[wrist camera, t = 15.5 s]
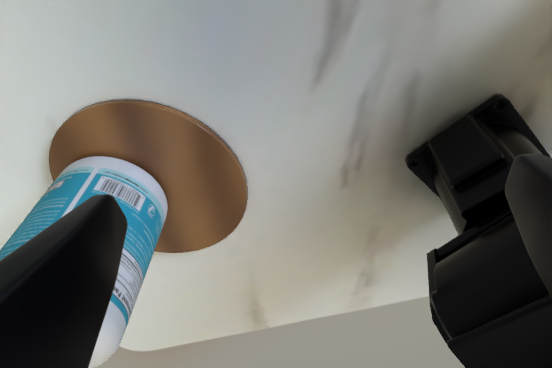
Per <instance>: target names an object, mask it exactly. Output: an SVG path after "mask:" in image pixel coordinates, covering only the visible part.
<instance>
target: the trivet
mask: <svg viewBox="0 0 552 368" xmlns="http://www.w3.org/2000/svg"><path fill="white" fill-rule="evenodd" d="M94 156H105V157H113V158H117V159H121V160H124V161H127V162H130V163H132V164H134V165H136V166H138V167H140V168H141V169H143V170H144V171H146V172H147V173H148V174H150V175H151V176H152V177H153V178H154V179H155V180H156V181H157V182H158V184H159V185H160V186H161V188H162V190H163V191H164V194H165V196H166V199H167V205H168V210H167V216H166V220H165V222H164V225H163V228H162V231H161V233H160V236H159V239H158V242H157V245H156V247H155V250H154V251H156V252H166V253H181V252H190V251H195V250H200V249H203V248H206V247H209V246H211V245H214V244H216V243H218V242H220V241H221V240H223V239H224V238H226V237H227V236H228V235H229V234H230V233H232V232H233V230H234V229H235V228H236V227H237V226H238V224H239V223H240V221H241V219H242V217H243V215H244V212H245V209H246V203H247V183H246V178H245V175H244V172H243V169H242V167H241V165H240V163H239V161H238V159H237V157H236V156H235V154H234V153H233V152H232V150H231V149H230V147H229V146H228V145H227V144H226V143H225V142H224V141H223V140H222V139H221V138H220V137H219V136H218V135H217V134H216V133H215V132H213V131H212V130H211V129H210V128H208V127H207V126H205V125H204V124H203V123H201V122H200V121H198V120H196V119H195V118H193V117H191V116H189V115H187V114H185V113H183V112H181V111H178V110H176V109H173V108H171V107H167V106H164V105H161V104H157V103H152V102H147V101H141V100H111V101H106V102H101V103H97V104H94V105H91V106H88V107H86V108H84V109H82V110H80V111H78V112H76V113H75V114H74V115H72V116H71V117H70V118H69V119H68V120H66V121H65V122H64V124H63V125H62V126H61V127H60V128H59V130H58V131H57V132H56V134H55V136H54V138H53V140H52V144H51V147H50V153H49V165H50V172H51V175H52V179H53V181H55V180H56V179H57V177H58V176H59V175H60V174H61V172H62V171H63V170H64V169H65V168H66V167H68V166H69V165H70V164H72V163H73V162H75V161H77V160H80V159H83V158H87V157H94Z"/></svg>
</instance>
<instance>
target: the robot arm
mask: <svg viewBox="0 0 552 368" xmlns="http://www.w3.org/2000/svg"><path fill="white" fill-rule="evenodd" d="M500 102H502V103H501V104H500V105H499V106H497V107H495V106H496V105H497V104H498V103H500ZM413 160H417V161H416V162H412V161H413ZM405 162H406V164H407V166H408V168H409V169H410V170H411V171H412V172H413V173H414V174H415V175H417V176H418V177H419V178H420V179H421V180H422V181H423V182H424V183H425V184H426V185H427V186H428V187H429V188H430V189H431V190H432V191H433V192H434V193H435V194H436V195H437V196H438V197H440V198H441V199H442V201H443V203H444V205H445V207H446V210H447V212H448V214H449V216H450V218H451V220H452V222H453V224H454V226H455V228H456V231H457V233H458V235H459V236H457V237H456V238H454V239H453V240H451V241H449V242H448V243H446V244H445V245H443V246H442V247H440V248H438V249H434V250H432V251H430V252H429V253H427V262H428V279H429V296H430V308H431V313H432V319H433V322H434V324H435V325H436V326H437V328H438V330H439V332H440V334H441V335H442V337H443V339H444V340H445V342H446V343H447V345H448V347H449V348H450V349H451V351H452V352H453V353H454V355H455V356H456V357H457V358H458V359H459V360H460V362H461V363H462V364H463V365H464V366H465V368H552V158H551V157H550V156H549V154H548V153H547V152H546V150H545V149H544V147H543V146H542V145H541V143H540V142H539V141H538V139H537V138H536V136H535V135H534V134H533V132H532V131H531V130H530V128H529V127H528V126H527V124H526V123H525V121H524V120H523V119H522V117H521V116H520V115H519V113H518V112H517V111H516V109H515V108H514V106H513V105H512V104H511V102H510V101H509V100H508V99H507V98H506V97H505V96H504V95H496V96H494V97H492V98H491V99H489V100H488V101H487V102H485V103H484V104H482V105H481V106H479V107H478V108H476V109H475V110H473V111H472V112H471V113H469V114H468V115H466V116H464V117H463V118H462V119H460V120H459V121H457V122H456V123H454V124H453V125H451V126H450V127H448V128H447V129H445V130H444V131H443V132H441V133H440V134H438V135H437V136H435V137H434V138H432V139H431V140H430V141H428V142H427V143H425V144H424V145H422V146H421V147H419V148H418V149H417V150H415V151H414V152H412V153H411V154H409V155H408V156H407V157H406V159H405ZM127 227H128V223H127V218H126V216H125V214H124V213H123V211H122V209H121V208H120V206H119V204H118V202H117V201H116V199H115V198H114V196H112V195H111V194H101V195H94V196H92V197H90V198H89V199H87V200H86V201H84V202H83V203H82V204H80V205H79V206H77V207H76V208H74V209H73V210H72V211H70V212H69V213H67V214H66V215H64V216H63V217H62V218H60V219H59V220H57V221H56V222H54V223H53V224H52V225H50V226H49V227H47V228H46V229H44V230H43V231H42V232H40V233H39V234H37V235H36V236H34V237H33V238H32V239H30V240H29V241H27V242H26V243H24V244H23V245H22V246H20V247H19V248H17V249H16V250H14V251H13V252H11V253H10V254H9V255H7V256H6V257H4V258H3V259H1V260H0V368H88V367H89V364H90V361H91V358H92V354H93V351H94V348H95V345H96V342H97V339H98V336H99V333H100V330H101V327H102V324H103V321H104V318H105V315H106V312H107V309H108V305H109V302H110V299H111V296H112V293H113V290H114V287H115V283H116V279H117V275H118V270H119V266H120V261H121V256H122V251H123V247H124V242H125V237H126V232H127Z"/></svg>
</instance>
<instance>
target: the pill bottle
mask: <svg viewBox="0 0 552 368" xmlns="http://www.w3.org/2000/svg"><path fill="white" fill-rule="evenodd" d="M101 194H111V195H112V196H114V198H115V199H116V201H117V202H118V204H119V206H120V208H121V209H122V211H123V213H124V214H125V216H126V218H127V223H128V227H127V232H126V237H125V242H124V247H123V251H122V256H121V261H120V266H119V270H118V275H117V279H116V283H115V287H114V290H113V293H112V296H111V299H110V302H109V305H108V309H107V312H106V315H105V318H104V321H103V324H102V327H101V330H100V333H99V336H98V339H97V342H96V345H95V348H94V351H93V354H92V358H91V361H90V364H89V367H88V368H95V367H97V366H99V365H101V364H102V363H104V362H105V361H106V360H107V359H109V358H110V357H111V356H112V355H113V353H114V352H115V351H116V350H117V348H118V346H119V344H120V342H121V340H122V337H123V334H124V332H125V329H126V326H127V324H128V321H129V318H130V316H131V313H132V310H133V307H134V305H135V302H136V299H137V296H138V294H139V291H140V288H141V286H142V283H143V280H144V277H145V275H146V272H147V269H148V266H149V264H150V261H151V258H152V255H153V253H154V250H155V247H156V245H157V242H158V239H159V236H160V233H161V231H162V228H163V225H164V222H165V220H166V216H167V210H168V205H167V199H166V196H165V194H164V191H163V190H162V188H161V186H160V185H159V184H158V182H157V181H156V180H155V179H154V178H153V177H152V176H151V175H150V174H148V173H147V172H146V171H144V170H143V169H141V168H140V167H138V166H136V165H134V164H132V163H130V162H127V161H124V160H121V159H117V158H113V157H105V156H94V157H87V158H83V159H80V160H77V161H75V162H73V163H72V164H70V165H69V166H68V167H66V168H65V169H64V170H63V171H62V172H61V174H60V175H59V176H58V177H57V179H56V180H55V181H54V182H53V184H52V185H51V186H50V187H49V189H48V190H47V191H46V193H45V194H44V195H43V196H42V198H41V199H40V200H39V201H38V203H37V204H36V205H35V207H34V208H33V209H32V210H31V212H30V213H29V214H28V216H27V217H26V218H25V220H24V221H23V222H22V223H21V225H20V226H19V227H18V228H17V230H16V231H15V232H14V233H13V235H12V236H11V237H10V239H9V240H8V241H7V242H6V244H5V245H4V246H3V247H2V249H1V250H0V260H1V259H3V258H4V257H6V256H7V255H9V254H10V253H11V252H13V251H14V250H16V249H17V248H19V247H20V246H22V245H23V244H24V243H26V242H27V241H29V240H30V239H32V238H33V237H34V236H36V235H37V234H39V233H40V232H42V231H43V230H44V229H46V228H47V227H49V226H50V225H52V224H53V223H54V222H56V221H57V220H59V219H60V218H62V217H63V216H64V215H66V214H67V213H69V212H70V211H72V210H73V209H74V208H76V207H77V206H79V205H80V204H82V203H83V202H84V201H86V200H87V199H89V198H90V197H92V196H94V195H101Z"/></svg>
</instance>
